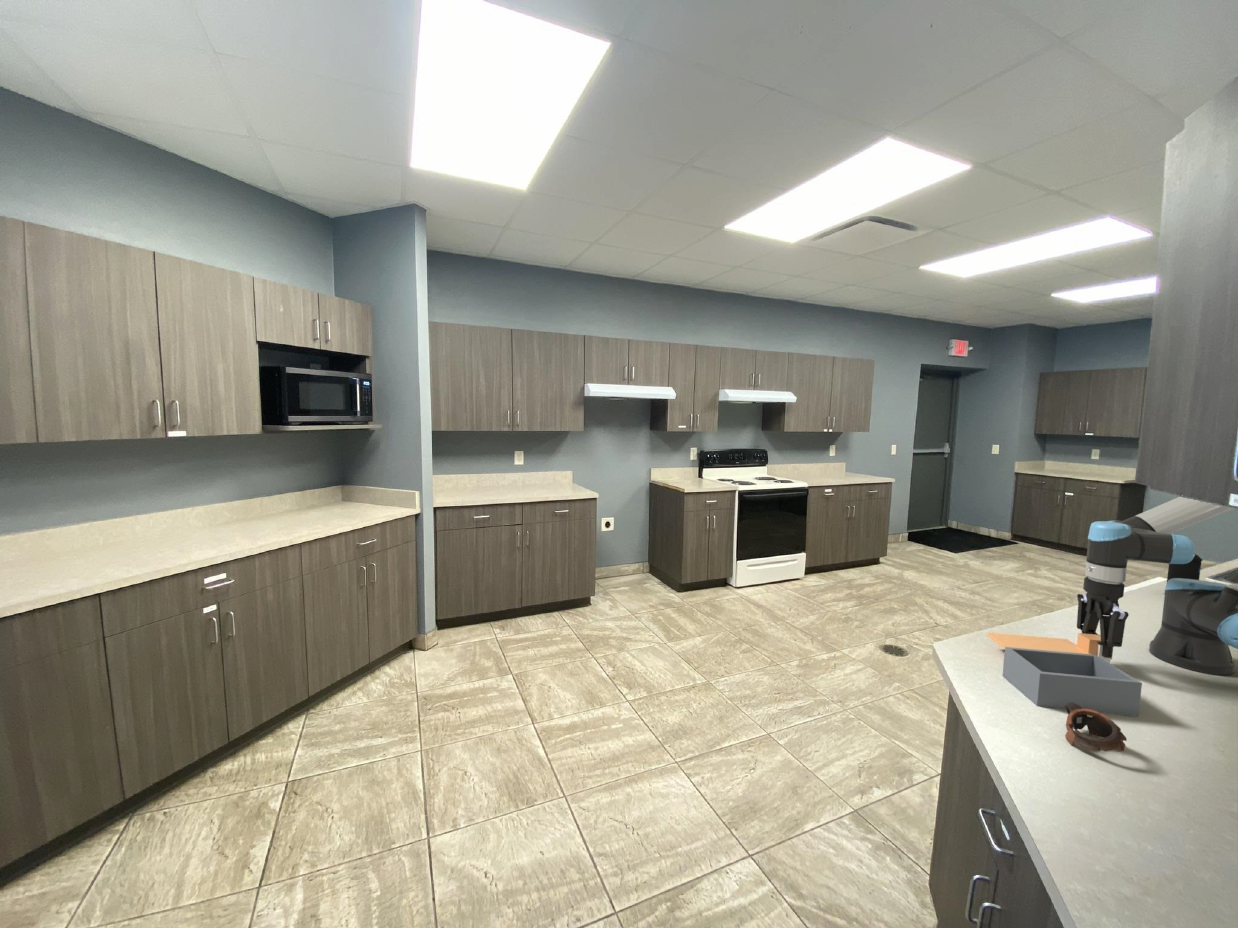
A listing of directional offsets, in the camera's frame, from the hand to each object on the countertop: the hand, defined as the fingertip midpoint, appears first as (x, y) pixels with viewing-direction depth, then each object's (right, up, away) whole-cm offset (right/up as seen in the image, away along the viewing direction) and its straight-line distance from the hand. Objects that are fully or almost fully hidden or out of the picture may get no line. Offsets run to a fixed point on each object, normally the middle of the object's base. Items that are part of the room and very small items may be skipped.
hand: (1095, 662), depth 127 cm
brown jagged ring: (-32, -4, -30) cm, 44 cm away
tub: (-21, -2, -13) cm, 25 cm away
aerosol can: (+86, +3, +52) cm, 101 cm away
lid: (-10, +2, +2) cm, 10 cm away
